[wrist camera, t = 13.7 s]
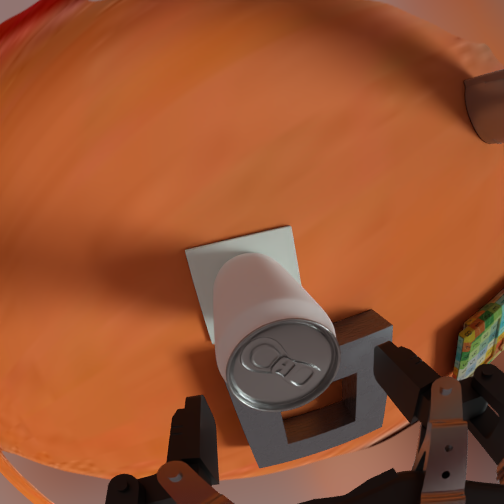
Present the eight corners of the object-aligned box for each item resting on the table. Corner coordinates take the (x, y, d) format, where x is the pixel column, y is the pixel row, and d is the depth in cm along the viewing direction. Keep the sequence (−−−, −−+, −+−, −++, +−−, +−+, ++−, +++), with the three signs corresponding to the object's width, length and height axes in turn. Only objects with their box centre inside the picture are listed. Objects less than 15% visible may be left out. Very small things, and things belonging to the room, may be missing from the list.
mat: (185, 249, 23) (184, 250, 22) (289, 225, 23) (291, 226, 23) (212, 341, 25) (212, 344, 24) (304, 318, 25) (306, 320, 25)
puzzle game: (519, 335, 29) (456, 397, 28) (504, 326, 34) (440, 382, 33) (529, 280, 27) (467, 341, 25) (511, 273, 31) (446, 327, 30)
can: (241, 235, 22) (274, 281, 11) (301, 277, 24) (372, 345, 12) (198, 298, 23) (190, 389, 11) (258, 333, 25) (293, 429, 13)
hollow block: (221, 353, 25) (223, 378, 21) (372, 309, 26) (392, 325, 23) (254, 445, 29) (259, 468, 25) (368, 408, 30) (381, 426, 26)
